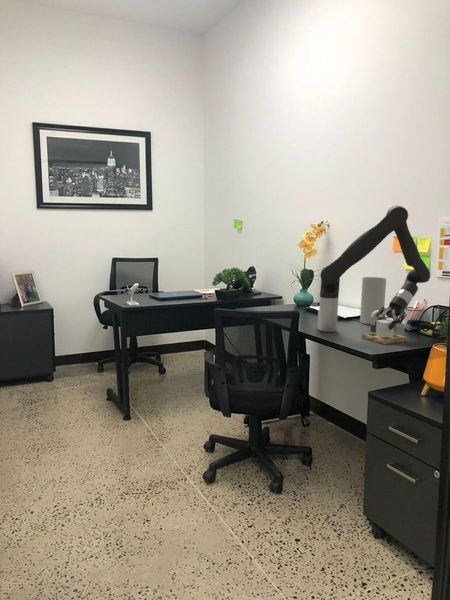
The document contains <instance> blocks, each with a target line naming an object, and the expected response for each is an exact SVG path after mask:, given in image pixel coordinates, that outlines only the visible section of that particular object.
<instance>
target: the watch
mask: <svg viewBox="0 0 450 600" xmlns="http://www.w3.org/2000/svg"><path fill="white" fill-rule="evenodd" d="M378 311H379V310H376V311H374V312H373V313H372V314H371V318H370V319H371V322H372V324H373V325H370V331H371V333H374V332H376V325H375V321H374V314H375V313H377V312H378ZM379 315H380V314H379ZM385 316H387V315H386V314H385ZM382 317H384V316H382ZM383 320H387V319H383Z"/></svg>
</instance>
